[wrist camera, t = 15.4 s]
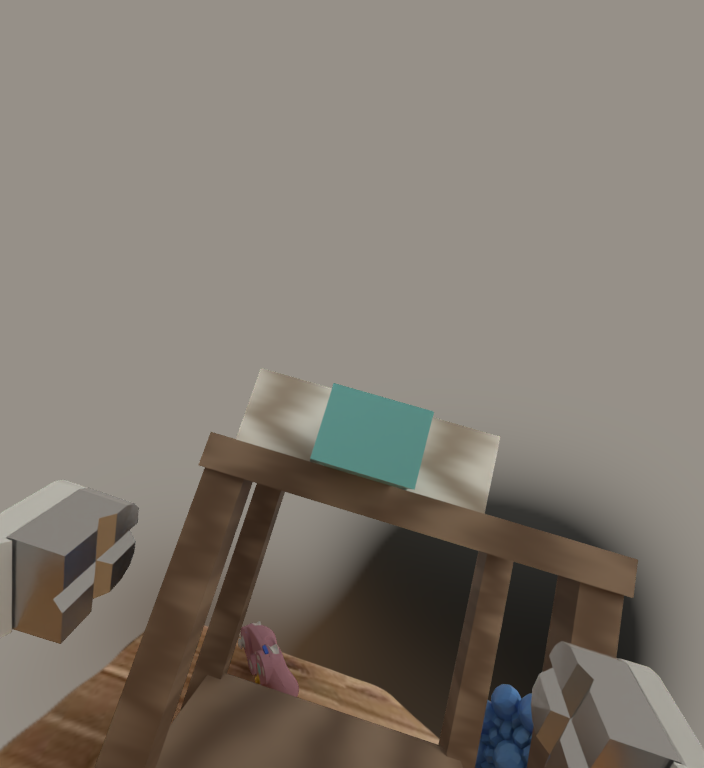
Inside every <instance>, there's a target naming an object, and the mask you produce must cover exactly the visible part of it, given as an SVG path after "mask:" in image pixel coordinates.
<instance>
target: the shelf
mask: <svg viewBox="0 0 704 768" xmlns="http://www.w3.org/2000/svg"><path fill="white" fill-rule="evenodd" d="M331 390H332V388H329V387H325V386H322V385H318V384H314V383H311V382H307V381H304V380H300V379H297V378H294V377H290V376H287V375H283V374H279V373H276V372H272V371H269V370H266V369H262V368H261V370H260V373H259V375H258V378H257V381H256V384H255V387H254V389H253V392H252V395H251V398H250V401H249V403H248V406H247V409H246V412H245V415H244V417H243V420H242V423H241V426H240V429H239V432H238V434H237V437H236V439H233V438H229V437H226V436H223V435H220V434H216V433H213V432H211V433H210V436H209V439H208V441H207V444H206V446H205V449H204V452H203V455H202V457H201V460H200V463H199V465H200V466H203V467H205V469H204V472H203V474H202V477H201V480H200V482H199V485H198V488H197V491H196V493H195V496H194V499H193V501H192V504H191V507H190V510H189V512H188V515H187V518H186V521H185V523H184V526H183V529H182V532H181V534H180V537H179V539H178V542H177V545H176V548H175V551H174V553H173V556H172V559H171V561H170V564H169V567H168V569H167V572H166V575H165V578H164V580H163V583H162V586H161V588H160V591H159V594H158V597H157V599H156V602H155V605H154V607H153V610H152V613H151V616H150V618H149V621H148V624H147V627H146V629H145V632H144V635H143V637H142V640H141V643H140V646H139V648H138V651H137V654H136V656H135V659H134V662H133V665H132V667H131V670H130V673H129V675H128V678H127V681H126V684H125V686H124V689H123V692H122V694H121V697H120V700H119V703H118V705H117V708H116V711H115V713H114V716H113V719H112V722H111V724H110V727H109V730H108V732H107V735H106V738H105V741H104V743H103V746H102V749H101V752H100V754H99V757H98V760H97V762H96V765H95V768H475V764H476V758H477V753H478V748H479V742H480V737H481V732H482V726H483V721H484V716H485V711H486V705H487V700H488V694H489V689H490V684H491V678H492V673H493V667H494V662H495V657H496V651H497V647H498V641H499V635H500V631H501V625H502V620H503V614H504V609H505V604H506V599H507V593H508V588H509V583H510V577H511V572H512V566H513V561H514V562H517V563H520V564H524V565H527V566H530V567H533V568H537V569H540V570H543V571H547V572H550V573H553V574H556V575H558V579H557V585H556V592H555V598H554V603H553V610H552V617H551V622H550V628H549V634H548V640H547V646H546V653H545V659H544V665H543V671H542V672H544V671H546V670H549V669H551V668H553V667H552V663H551V660H550V657H549V655H550V653H551V652H552V650H553V648H554V646H555V645H556V644H558V643H559V642H561V641H564V642H567V643H570V644H573V645H576V646H580V647H583V648H586V649H589V650H592V651H596V652H599V653H602V654H605V655H608V656H612V657H615V658H616V654H617V646H618V638H619V631H620V623H621V614H622V607H623V598H624V595H625V596H628V597H632V598H633V596H634V588H635V580H636V572H637V563H638V560H637V559H634V558H630V557H627V556H623V555H620V554H617V553H614V552H610V551H607V550H603V549H600V548H597V547H593V546H590V545H586V544H584V543H580V542H577V541H574V540H570V539H567V538H563V537H560V536H557V535H554V534H550V533H547V532H543V531H540V530H537V529H533V528H530V527H527V526H523V525H520V524H517V523H513V522H510V521H507V520H503V519H500V518H497V517H493V516H490V515H486V514H484V513H485V508H486V503H487V498H488V494H489V489H490V484H491V480H492V474H493V470H494V465H495V460H496V455H497V450H498V446H499V441H500V437H499V436H495V435H492V434H489V433H485V432H482V431H478V430H475V429H472V428H468V427H464V426H461V425H458V424H454V423H450V422H447V421H444V420H440V419H437V418H432V422H431V426H430V430H429V434H428V438H427V442H426V446H425V450H424V454H423V458H422V462H421V466H420V470H419V474H418V478H417V482H416V486H415V490H413V489H407V488H401V487H395V486H390V485H387V484H383V483H380V482H377V481H373V480H370V479H367V478H363V477H360V476H357V475H353V474H350V473H347V472H343V471H340V470H337V469H333V468H330V467H326V466H324V465H322V464H320V463H318V462H316V461H314V460H312V459H310V458H311V454H312V451H313V448H314V445H315V441H316V438H317V435H318V432H319V429H320V425H321V422H322V419H323V416H324V413H325V409H326V406H327V403H328V400H329V397H330V393H331ZM252 482H255V483H257V485H256V488H255V491H254V493H253V496H252V500H251V502H250V505H249V508H248V511H247V514H246V518H245V520H244V523H243V526H242V529H241V532H240V535H239V538H238V541H237V544H236V548H235V550H234V553H233V556H232V559H231V562H230V565H229V568H228V571H227V574H226V577H225V580H224V583H223V586H222V589H221V592H220V595H219V598H218V601H217V604H216V607H215V609H214V612H213V615H212V618H211V622H210V624H209V627H208V630H207V633H206V636H205V639H204V642H203V645H202V648H201V651H200V654H199V657H198V660H197V663H196V666H195V669H194V672H193V675H192V678H191V681H190V684H189V687H188V690H187V693H186V696H185V699H184V702H183V705H182V708H181V711H180V713H179V714H178V715H177V717H176V718H175V719H174V721H173V722H172V723H171V721H172V718H173V715H174V712H175V710H176V707H177V704H178V701H179V698H180V695H181V692H182V689H183V686H184V683H185V680H186V677H187V674H188V671H189V668H190V665H191V662H192V659H193V656H194V653H195V651H196V648H197V645H198V642H199V639H200V636H201V633H202V630H203V627H204V624H205V621H206V618H207V615H208V612H209V609H210V606H211V603H212V600H213V597H214V594H215V591H216V589H217V586H218V583H219V580H220V577H221V574H222V571H223V568H224V565H225V562H226V559H227V556H228V553H229V550H230V547H231V544H232V541H233V538H234V535H235V532H236V529H237V526H238V524H239V521H240V518H241V515H242V512H243V509H244V506H245V503H246V500H247V497H248V494H249V491H250V488H251V485H252ZM285 492H288V493H292V494H295V495H298V496H301V497H304V498H308V499H311V500H314V501H318V502H321V503H324V504H327V505H331V506H334V507H337V508H340V509H344V510H347V511H350V512H353V513H357V514H360V515H364V516H367V517H370V518H373V519H376V520H380V521H383V522H386V523H389V524H393V525H396V526H400V527H402V528H406V529H409V530H412V531H416V532H419V533H422V534H426V535H429V536H432V537H435V538H439V539H442V540H445V541H448V542H452V543H455V544H458V545H462V546H465V547H468V548H471V549H475V550H478V551H479V552H478V557H477V562H476V567H475V572H474V576H473V581H472V586H471V591H470V596H469V600H468V606H467V610H466V615H465V620H464V625H463V630H462V635H461V640H460V644H459V649H458V654H457V658H456V663H455V668H454V673H453V678H452V683H451V687H450V692H449V697H448V702H447V707H446V712H445V717H444V721H443V726H442V731H441V736H440V741H439V745H437V744H434V743H431V742H428V741H425V740H422V739H419V738H416V737H413V736H410V735H407V734H404V733H401V732H398V731H395V730H392V729H389V728H386V727H383V726H380V725H378V724H375V723H372V722H369V721H366V720H363V719H360V718H357V717H354V716H351V715H348V714H345V713H342V712H339V711H336V710H333V709H330V708H327V707H324V706H321V705H318V704H315V703H312V702H309V701H307V700H304V699H301V698H298V697H295V696H292V695H289V694H286V693H283V692H280V691H277V690H274V689H271V688H268V687H265V686H262V685H259V684H256V683H253V682H250V681H247V680H244V679H241V678H239V677H236V676H233V675H230V674H227V671H228V668H229V665H230V662H231V658H232V655H233V652H234V649H235V646H236V643H237V640H238V637H239V633H240V630H241V627H242V624H243V621H244V618H245V615H246V612H247V608H248V605H249V602H250V599H251V595H252V592H253V589H254V586H255V583H256V580H257V577H258V574H259V571H260V568H261V564H262V561H263V558H264V555H265V552H266V549H267V545H268V543H269V540H270V536H271V533H272V530H273V527H274V524H275V520H276V517H277V514H278V511H279V508H280V505H281V502H282V499H283V496H284V493H285ZM170 724H171V725H170ZM548 757H549V753H548V752H547V750H546V749H545V748H544V746H543V745H542V744H541V742H540V741H539V739H538V738H537V737H536V734H535V730H534V726H533V732H532V738H531V745H530V751H529V757H528V763H527V768H544V767H545V764H546V762H547V759H548Z"/></svg>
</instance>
